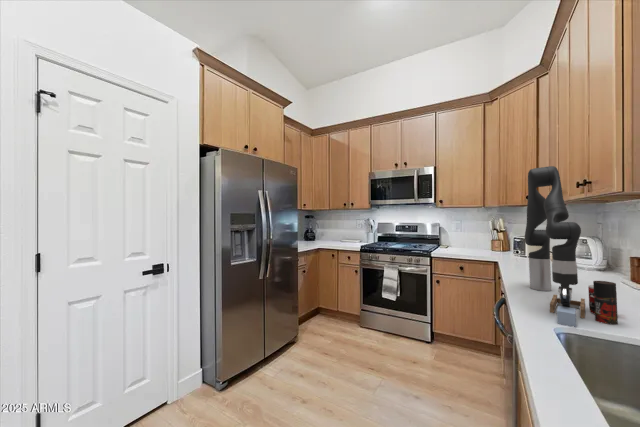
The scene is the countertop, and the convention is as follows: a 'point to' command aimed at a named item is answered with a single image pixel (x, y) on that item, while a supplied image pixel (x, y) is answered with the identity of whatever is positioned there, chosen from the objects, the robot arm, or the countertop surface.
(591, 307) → the canned food
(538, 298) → the countertop surface
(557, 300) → the channel
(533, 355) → the countertop surface
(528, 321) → the countertop surface
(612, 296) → the deodorant
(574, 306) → the pad
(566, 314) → the block
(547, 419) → the countertop surface
